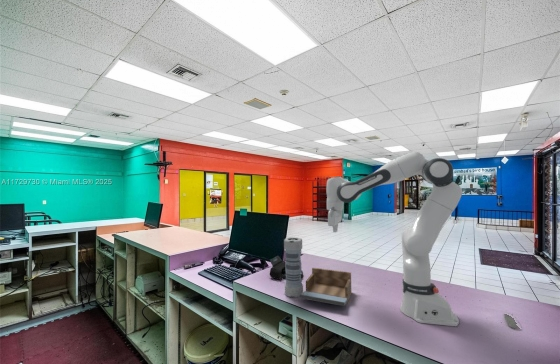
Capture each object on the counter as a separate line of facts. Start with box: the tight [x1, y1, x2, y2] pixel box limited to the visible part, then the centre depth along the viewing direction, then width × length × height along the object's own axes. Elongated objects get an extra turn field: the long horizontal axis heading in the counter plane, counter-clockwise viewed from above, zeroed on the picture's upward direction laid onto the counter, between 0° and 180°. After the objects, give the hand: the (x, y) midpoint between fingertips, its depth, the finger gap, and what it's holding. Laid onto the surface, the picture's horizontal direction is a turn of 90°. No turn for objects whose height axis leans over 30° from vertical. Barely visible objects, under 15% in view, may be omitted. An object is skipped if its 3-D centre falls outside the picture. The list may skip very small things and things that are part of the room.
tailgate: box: [298, 290, 347, 307], centre depth 121 cm, size 22×2×9 cm
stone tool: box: [503, 314, 520, 330], centre depth 104 cm, size 14×1×5 cm
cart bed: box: [305, 267, 352, 305], centre depth 132 cm, size 22×14×11 cm, turn 66°
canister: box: [283, 236, 304, 298], centre depth 134 cm, size 10×10×30 cm
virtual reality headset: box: [269, 255, 304, 281], centre depth 160 cm, size 19×22×10 cm
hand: (335, 231), depth 132 cm, fingers closed
